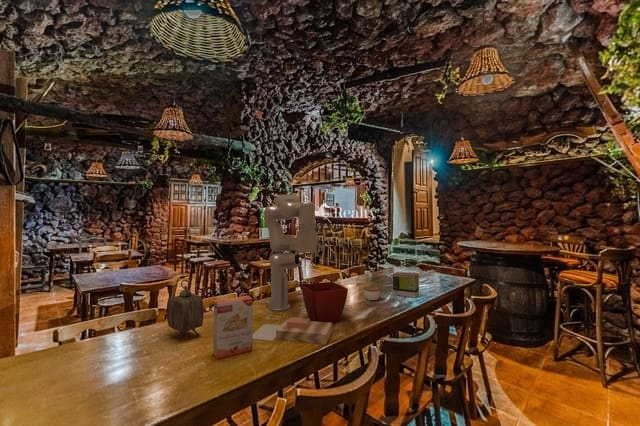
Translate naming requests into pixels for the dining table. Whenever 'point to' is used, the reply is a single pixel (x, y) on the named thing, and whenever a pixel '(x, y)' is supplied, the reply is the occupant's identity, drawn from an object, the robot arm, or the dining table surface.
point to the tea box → (406, 284)
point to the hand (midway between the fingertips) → (307, 264)
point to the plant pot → (324, 301)
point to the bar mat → (266, 332)
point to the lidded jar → (372, 292)
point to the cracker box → (233, 326)
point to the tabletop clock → (185, 311)
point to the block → (298, 323)
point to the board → (306, 333)
